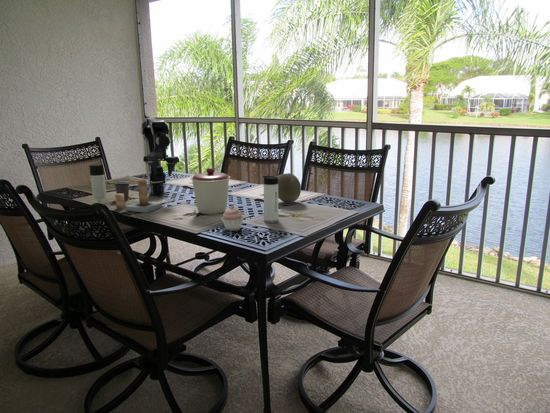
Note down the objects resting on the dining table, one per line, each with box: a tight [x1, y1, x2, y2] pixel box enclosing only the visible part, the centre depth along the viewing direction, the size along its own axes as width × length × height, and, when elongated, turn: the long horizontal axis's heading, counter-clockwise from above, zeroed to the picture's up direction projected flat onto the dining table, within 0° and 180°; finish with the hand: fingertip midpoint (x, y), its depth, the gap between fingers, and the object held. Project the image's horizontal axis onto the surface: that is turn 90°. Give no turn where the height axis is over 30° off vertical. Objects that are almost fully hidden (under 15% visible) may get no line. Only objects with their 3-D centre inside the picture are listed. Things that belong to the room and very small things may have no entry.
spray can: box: [88, 163, 108, 205], centre depth 219 cm, size 7×7×20 cm
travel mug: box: [262, 175, 279, 224], centre depth 186 cm, size 6×7×20 cm
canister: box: [190, 166, 231, 215], centre depth 202 cm, size 18×18×21 cm
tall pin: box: [137, 179, 149, 206], centre depth 209 cm, size 4×4×14 cm
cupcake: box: [220, 205, 245, 232], centre depth 177 cm, size 9×9×10 cm
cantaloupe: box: [276, 173, 302, 203], centre depth 219 cm, size 14×14×15 cm
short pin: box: [114, 193, 126, 210], centre depth 211 cm, size 4×4×7 cm
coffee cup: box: [113, 180, 131, 201], centre depth 228 cm, size 8×8×10 cm
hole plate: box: [125, 200, 163, 214], centre depth 211 cm, size 12×12×2 cm
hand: (162, 175), depth 225 cm, fingers open, 9 cm apart
